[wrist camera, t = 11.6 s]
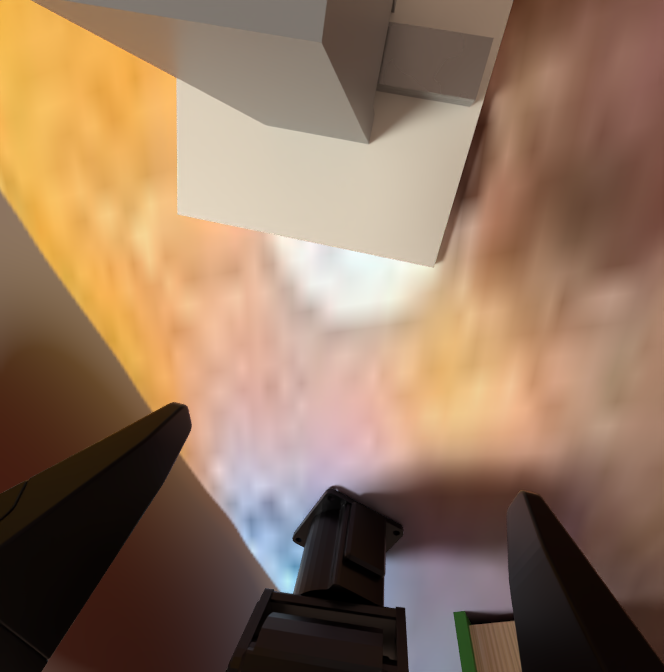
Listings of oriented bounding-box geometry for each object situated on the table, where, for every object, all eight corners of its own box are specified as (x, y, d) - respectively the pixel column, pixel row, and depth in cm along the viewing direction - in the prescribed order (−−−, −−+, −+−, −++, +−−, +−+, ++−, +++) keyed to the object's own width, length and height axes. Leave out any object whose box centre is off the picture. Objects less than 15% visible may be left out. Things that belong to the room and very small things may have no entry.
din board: (432, 265, 18) (433, 267, 18) (183, 213, 19) (177, 214, 19) (568, -194, 12) (577, -213, 11) (183, -234, 13) (174, -253, 12)
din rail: (469, 106, 15) (475, 100, 14) (186, 58, 16) (171, 48, 15) (485, 49, 14) (493, 37, 13) (186, 2, 15) (170, -13, 14)
